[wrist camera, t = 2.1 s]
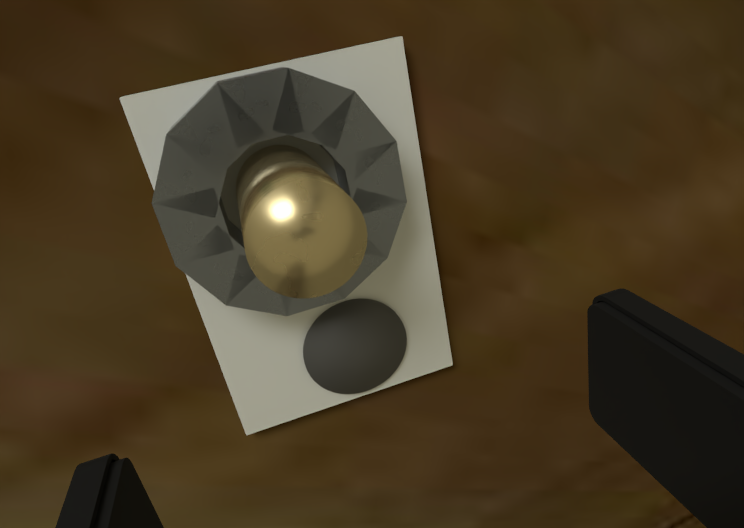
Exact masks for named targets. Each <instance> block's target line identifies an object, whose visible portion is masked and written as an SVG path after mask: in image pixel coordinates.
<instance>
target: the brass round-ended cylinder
mask: <svg viewBox="0 0 744 528" xmlns="http://www.w3.org/2000/svg"><path fill="white" fill-rule="evenodd" d="M236 197H237V203H238V210H239V216H240V222H241V229H242V235H243V242H244V248H245V254H246V258H247V261H248V263H249V266H250V268H251V269H252V271H253V273H254V274H255V276H256V277H257V278H258V279H259V280H260V281H261V282H262V283H263V284H264V285H265V286H266V287H268V288H269V289H271V290H273V291H274V292H276V293H278V294H281V295H284V296H287V297H291V298H315V297H319V296H323V295H325V294H328V293H330V292H332V291H334V290H336V289H338V288H339V287H341V286H342V285H344V284H345V283H346V282H347V281H348V280H349V279H350V278H351V277H352V276H353V275H354V274H355V272H356V271H357V269H358V268H359V266H360V264H361V262H362V260H363V258H364V255H365V251H366V247H367V227H366V223H365V219H364V217H363V214H362V212H361V210H360V209H359V207H358V205H357V204H356V203H355V202H354V201H353V199H352V198H351V197H350V196H349V195H348V194H347V193H346V192H345V191H344V190H343V189H342V188H341V187H340V186H339V185H338V184H337V183H336V182H335V181H334V180H333V179H332V178H331V177H330V176H329V175H328V174H327V173H326V172H325V171H324V170H323V169H322V168H321V167H320V165H319V164H318V163H317V162H316V161H315V160H314V159H313V158H312V157H310V156H309V155H308V154H307V153H305V152H304V151H302V150H300V149H298V148H296V147H293V146H288V145H272V146H268V147H265V148H262V149H260V150H258V151H256V152H255V153H253V154H252V155H251V156H250V157H249V158H248V159H247V160H246V161H245V162H244V164H243V165H242V167H241V169H240V171H239V173H238V176H237V180H236Z"/></svg>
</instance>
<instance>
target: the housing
mask: <svg viewBox="0 0 744 528" xmlns="http://www.w3.org/2000/svg"><path fill="white" fill-rule="evenodd" d="M286 135H290V136H294V137H297V138H300V139H303V140H307V141H310V142H313V143H317V144H319V145H320V146H321V147H322V148H323V149H324V150H325V151H326V153H327V154H328V155H329V156H330V157H331V158H332V159H333V160H334V165H335V169H336V174H337V178H338V182H339V186H340V187H341V188H342V189H343V190H344V191H345V192H346V193H347V194H348V195H349V196H350V197H351V198H352V199H353V201H354V202H355V203H356V204H357V205H358V207H359V209H360V210H361V212H362V214H363V217H364V219H365V223H366V227H367V247H366V251H365V255H364V258H363V260H362V262H361V264H360V266H359V268H358V269H357V271H356V272H355V274H354V275H353V276H352V277H351V278H350V279H349V280H348V281H347V282H346V283H345V284H344V285H342V286H341V287H339V288H338V289H336V290H334V291H332V292H330V293H328V294H325V295H323V296H319V297H315V298H291V297H287V296H284V295H281V294H278V293H276V292H274V291H273V290H271V289H269V288H268V287H266V286H265V285H264V284H263V283H262V282H261V281H260V280H259V279H258V278H257V277H256V276H255V274H254V273H253V271H252V269H251V268H250V266H249V263H248V261H247V258H246V254H245V248H244V242H243V235H242V231H241V230H240V229H239V228H237V227H236V226H235V225H234V224H233V223H232V222H231V221H230V220H228V217H227V214H226V211H225V208H224V205H223V202H222V199H221V192H222V188H223V184H224V180H225V176H226V172H227V168H228V167H230V166H231V165H232V164H233V163H234V162H235V161H236V160H237V159H238V158H239V157H240V156H241V155H242V154H243V153H244V152H245V151H246V150H247V149H248V148H249V147H250V146H251V145H252V144H253V143H257V142H261V141H265V140H269V139H273V138H277V137H282V136H286ZM406 203H407V199H406V193H405V187H404V182H403V176H402V170H401V164H400V158H399V152H398V147H397V141H396V140H395V139H394V137H393V136H392V135H391V134H390V133H389V131H388V130H387V129H386V128H385V127H384V125H383V124H382V123H381V122H380V121H379V119H378V118H377V117H376V116H375V115H374V113H373V112H372V111H371V110H370V109H369V107H368V106H367V105H366V104H365V103H364V101H363V100H362V99H361V98H360V97H359V95H358V94H357V93H356V92H355V91H354V90H351V89H348V88H345V87H342V86H339V85H337V84H334V83H331V82H328V81H325V80H322V79H319V78H317V77H314V76H311V75H308V74H305V73H302V72H299V71H296V70H294V69H291V68H287V67H278V68H274V69H269V70H265V71H260V72H255V73H251V74H246V75H242V76H237V77H233V78H228V79H223V80H219V81H217V82H216V83H215V84H214V85H213V86H212V87H211V88H210V89H209V90H208V91H207V92H206V93H205V94H204V95H203V96H202V97H201V98H200V99H199V100H198V101H197V102H196V103H195V104H194V105H193V106H192V107H191V108H190V109H189V110H188V111H187V112H186V113H185V114H184V115H183V116H182V117H181V118H180V119H179V120H178V121H177V122H176V123H175V124H174V125H173V126H172V127H171V128H170V129H169V131H168V132H167V134H166V137H165V142H164V147H163V152H162V157H161V161H160V166H159V171H158V176H157V181H156V185H155V190H154V195H153V200H152V205H153V208H154V210H155V213H156V216H157V218H158V221H159V224H160V226H161V229H162V231H163V234H164V237H165V239H166V242H167V244H168V247H169V250H170V252H171V255H172V257H173V260H174V263H175V265H176V266H177V267H178V268H179V269H180V270H182V271H183V272H184V273H185V274H187V275H188V276H189V277H191V278H192V279H193V280H194V281H196V282H197V283H198V284H199V285H201V286H202V287H203V288H204V289H206V290H207V291H208V292H209V293H211V294H212V295H213V296H215V297H216V298H217V299H218V300H220V301H221V302H222V303H223V304H225V305H226V306H231V307H237V308H243V309H248V310H254V311H260V312H265V313H271V314H277V315H283V316H290V315H293V314H296V313H299V312H303V311H306V310H309V309H313V308H316V307H319V306H322V305H326V304H329V303H332V302H336V301H339V300H342V299H345V298H346V297H347V296H348V295H349V294H350V293H351V292H352V291H353V290H354V289H355V288H356V287H358V286H359V285H360V284H361V283H362V282H363V281H364V280H365V279H366V278H367V277H368V276H369V275H370V274H371V273H372V272H373V271H374V270H375V269H376V268H378V267H379V266H380V265H381V264H382V263H383V262H384V261H385V260H386V259H387V258H388V255H389V252H390V249H391V247H392V244H393V241H394V238H395V235H396V232H397V229H398V226H399V223H400V220H401V218H402V215H403V212H404V209H405V206H406Z"/></svg>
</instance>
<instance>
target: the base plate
mask: <svg viewBox="0 0 744 528" xmlns="http://www.w3.org/2000/svg"><path fill="white" fill-rule="evenodd" d="M278 67H287V68H291V69H294V70H296V71H299V72H302V73H305V74H308V75H311V76H314V77H317V78H319V79H322V80H325V81H328V82H331V83H334V84H337V85H339V86H342V87H345V88H348V89H351V90H354V91H355V92H356V93H357V94H358V95H359V97H360V98H361V99H362V100H363V101H364V103H365V104H366V105H367V106H368V107H369V109H370V110H371V111H372V112H373V113H374V115H375V116H376V117H377V118H378V119H379V121H380V122H381V123H382V124H383V125H384V127H385V128H386V129H387V130H388V131H389V133H390V134H391V135H392V136H393V137H394V139H395V140H396V141H397V147H398V152H399V158H400V164H401V170H402V176H403V182H404V187H405V193H406V199H407V203H406V206H405V209H404V212H403V215H402V218H401V220H400V223H399V226H398V229H397V232H396V235H395V238H394V241H393V244H392V247H391V249H390V252H389V255H388V258H387V259H386V260H385V261H384V262H383V263H382V264H381V265H380V266H379V267H378V268H376V269H375V270H374V271H373V272H372V273H371V274H370V275H369V276H368V277H367V278H366V279H365V280H364V281H363V282H362V283H361V284H360V285H359V286H358V287H356V288H355V289H354V290H353V291H352V292H351V293H350V294H349V295H348V296H347V297H346V298H345V299H342V300H339V301H336V302H332V303H329V304H326V305H322V306H319V307H316V308H313V309H309V310H306V311H303V312H299V313H296V314H293V315H290V316H283V315H277V314H271V313H265V312H260V311H254V310H248V309H243V308H237V307H231V306H226V305H225V304H223V303H222V302H221V301H220V300H218V299H217V298H216V297H215V296H213V295H212V294H211V293H209V292H208V291H207V290H206V289H204V288H203V287H202V286H201V285H199V284H198V283H197V282H196V281H194V280H193V279H192V278H191V277H189V276H188V275H187V274H186V276H187V279H188V282H189V284H190V287H191V290H192V292H193V295H194V298H195V300H196V303H197V306H198V308H199V311H200V314H201V316H202V319H203V321H204V324H205V327H206V329H207V332H208V335H209V337H210V340H211V343H212V345H213V348H214V351H215V353H216V356H217V359H218V361H219V364H220V367H221V369H222V372H223V375H224V377H225V380H226V382H227V385H228V388H229V390H230V393H231V396H232V398H233V401H234V404H235V406H236V409H237V412H238V414H239V417H240V420H241V422H242V425H243V428H244V430H245V433H246V435H249V434H252V433H255V432H258V431H261V430H264V429H267V428H270V427H273V426H276V425H278V424H281V423H284V422H287V421H290V420H293V419H296V418H299V417H302V416H305V415H308V414H311V413H314V412H317V411H320V410H323V409H325V408H328V407H331V406H334V405H337V404H340V403H343V402H346V401H349V400H352V399H355V398H358V397H361V396H364V395H367V394H370V393H372V392H375V391H378V390H381V389H384V388H387V387H390V386H393V385H396V384H399V383H402V382H405V381H408V380H411V379H414V378H417V377H419V376H422V375H425V374H428V373H431V372H434V371H437V370H440V369H443V368H446V367H449V366H452V365H453V362H452V356H451V349H450V343H449V337H448V330H447V324H446V317H445V311H444V304H443V298H442V291H441V285H440V278H439V272H438V265H437V259H436V252H435V246H434V239H433V233H432V226H431V220H430V213H429V207H428V200H427V194H426V187H425V181H424V174H423V168H422V161H421V155H420V148H419V142H418V135H417V129H416V122H415V116H414V109H413V103H412V96H411V90H410V83H409V77H408V70H407V64H406V57H405V51H404V44H403V38H402V36H401V37H394V38H390V39H385V40H381V41H376V42H371V43H367V44H362V45H357V46H353V47H348V48H344V49H339V50H334V51H330V52H325V53H321V54H316V55H311V56H307V57H302V58H298V59H293V60H288V61H284V62H279V63H275V64H270V65H265V66H261V67H256V68H252V69H247V70H242V71H238V72H233V73H228V74H224V75H219V76H215V77H210V78H205V79H201V80H196V81H192V82H187V83H182V84H178V85H173V86H169V87H164V88H159V89H155V90H150V91H146V92H141V93H136V94H132V95H127V96H123V97H120V98H119V99H120V101H121V104H122V107H123V109H124V112H125V115H126V117H127V120H128V123H129V125H130V128H131V131H132V133H133V136H134V138H135V141H136V144H137V146H138V149H139V152H140V154H141V157H142V160H143V162H144V165H145V168H146V170H147V173H148V176H149V178H150V181H151V184H152V186H153V189H154V190H155V185H156V181H157V176H158V171H159V166H160V161H161V157H162V152H163V147H164V142H165V137H166V134H167V132H168V131H169V129H170V128H171V127H172V126H173V125H174V124H175V123H176V122H177V121H178V120H179V119H180V118H181V117H182V116H183V115H184V114H185V113H186V112H187V111H188V110H189V109H190V108H191V107H192V106H193V105H194V104H195V103H196V102H197V101H198V100H199V99H200V98H201V97H202V96H203V95H204V94H205V93H206V92H207V91H208V90H209V89H210V88H211V87H212V86H213V85H214V84H215V83H216V82H217V81H219V80H223V79H228V78H233V77H237V76H242V75H246V74H251V73H255V72H260V71H265V70H269V69H274V68H278ZM272 145H288V146H293V147H296V148H298V149H300V150H302V151H304V152H305V153H307V154H308V155H309V156H310V157H312V158H313V159H314V160H315V161H316V162H317V163H318V164H319V165H320V167H321V168H322V169H323V170H324V171H325V172H326V173H327V174H328V175H329V176H330V177H331V178H332V179H333V180H334V181H335V182H336V183H337V184H338V185H339V182H338V178H337V174H336V169H335V165H334V160H333V159H332V158H331V157H330V156H329V155H328V154H327V153H326V151H325V150H324V149H323V148H322V147H321V146H320V145H319V144H317V143H313V142H310V141H307V140H303V139H300V138H297V137H294V136H290V135H286V136H282V137H277V138H273V139H269V140H265V141H261V142H257V143H253V144H252V145H251V146H250V147H249V148H248V149H247V150H246V151H245V152H244V153H243V154H242V155H241V156H240V157H239V158H238V159H237V160H236V161H235V162H234V163H233V164H232V165H231V166H230V167H228V168H227V172H226V176H225V180H224V184H223V188H222V192H221V199H222V202H223V205H224V208H225V211H226V214H227V217H228V220H230V221H231V222H232V223H233V224H234V225H235V226H236V227H237V228H239V229H240V230H241V231H242V229H241V222H240V216H239V210H238V203H237V197H236V180H237V176H238V173H239V171H240V169H241V167H242V165H243V164H244V162H245V161H246V160H247V159H248V158H249V157H250V156H251V155H252V154H253V153H255V152H256V151H258V150H260V149H262V148H265V147H268V146H272Z"/></svg>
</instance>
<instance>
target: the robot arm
mask: <svg viewBox="0 0 744 528" xmlns="http://www.w3.org/2000/svg"><path fill="white" fill-rule="evenodd" d="M588 370H589V409H590V412H591V415H592V417H593V418H594V420H595V421H596V423H597V424H598V425H599V426H600V427H601V428H602V429H603V430H604V431H606V432H607V433H608V434H609V435H610V436H611V437H612V438H613V439H614V440H615V441H616V442H617V443H618V444H619V445H620V446H621V447H622V448H623V449H625V450H626V451H627V452H628V453H629V454H630V455H631V456H632V457H633V458H634V459H635V460H636V461H637V462H638V463H639V464H640V465H641V466H642V467H644V468H645V469H646V470H647V471H648V472H649V473H650V474H651V475H652V476H653V477H654V478H655V479H656V480H657V481H658V482H659V483H660V484H661V485H663V486H664V487H665V488H666V489H667V490H668V491H669V492H670V493H671V494H672V495H673V496H674V497H675V498H676V499H677V500H678V501H679V502H681V503H682V504H683V505H684V506H685V507H686V508H687V509H688V510H689V511H690V512H691V513H692V514H693V515H694V516H695V517H696V518H697V519H698V520H700V521H701V522H702V523H703V524H704V525H705V526H706V527H707V528H744V355H743V354H742V353H740V352H738V351H736V350H734V349H733V348H731V347H729V346H727V345H725V344H724V343H722V342H720V341H718V340H716V339H715V338H713V337H711V336H709V335H707V334H706V333H704V332H702V331H700V330H698V329H697V328H695V327H693V326H691V325H689V324H688V323H686V322H684V321H682V320H680V319H679V318H677V317H675V316H673V315H671V314H670V313H668V312H666V311H664V310H662V309H661V308H659V307H657V306H655V305H653V304H652V303H650V302H648V301H646V300H644V299H643V298H641V297H639V296H637V295H635V294H634V293H632V292H630V291H628V290H626V289H617V290H614V291H611V292H608V293H605V294H602V295H599V296H597V297H595V298H594V300H593V304H592V305H591V306H590V307H589V308H588ZM56 528H164V527H163V525H162V523H161V521H160V519H159V517H158V515H157V513H156V511H155V509H154V507H153V505H152V503H151V501H150V499H149V497H148V495H147V493H146V491H145V489H144V487H143V485H142V483H141V480H140V478H139V476H138V474H137V472H136V470H135V468H134V466H133V464H132V462H131V461H130V460H129V459H128V458H123V459H119V458H118V456H116V455H115V454H109V455H106V456H103V457H100V458H97V459H94V460H90V461H87V462H84V463H81V464H79V465H78V466H77V467H76V469H75V472H74V475H73V478H72V481H71V484H70V486H69V489H68V492H67V495H66V498H65V501H64V504H63V507H62V510H61V513H60V516H59V519H58V522H57V525H56Z"/></svg>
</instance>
